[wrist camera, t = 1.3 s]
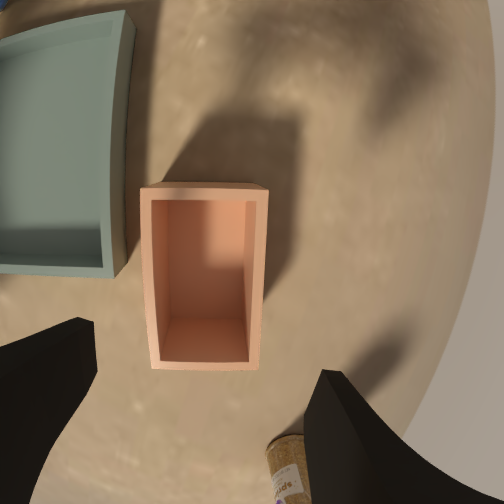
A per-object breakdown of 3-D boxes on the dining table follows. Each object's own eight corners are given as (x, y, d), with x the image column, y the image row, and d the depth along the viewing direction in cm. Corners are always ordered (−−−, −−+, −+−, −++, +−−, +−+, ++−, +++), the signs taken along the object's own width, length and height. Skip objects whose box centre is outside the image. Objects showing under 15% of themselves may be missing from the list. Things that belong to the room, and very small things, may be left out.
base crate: (-13, 258, 18) (-36, 270, 15) (-9, 60, 14) (-32, 52, 11) (127, 262, 19) (114, 278, 17) (136, 28, 16) (125, 9, 13)
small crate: (165, 321, 21) (152, 368, 15) (161, 181, 18) (140, 188, 13) (248, 322, 21) (258, 369, 16) (254, 183, 19) (268, 190, 14)
